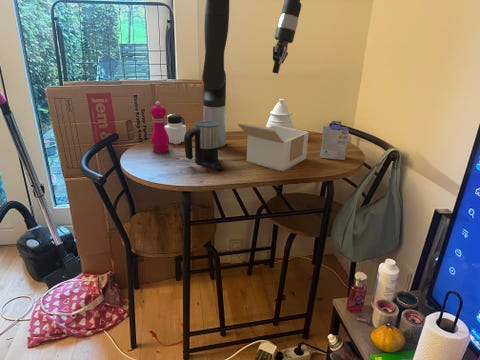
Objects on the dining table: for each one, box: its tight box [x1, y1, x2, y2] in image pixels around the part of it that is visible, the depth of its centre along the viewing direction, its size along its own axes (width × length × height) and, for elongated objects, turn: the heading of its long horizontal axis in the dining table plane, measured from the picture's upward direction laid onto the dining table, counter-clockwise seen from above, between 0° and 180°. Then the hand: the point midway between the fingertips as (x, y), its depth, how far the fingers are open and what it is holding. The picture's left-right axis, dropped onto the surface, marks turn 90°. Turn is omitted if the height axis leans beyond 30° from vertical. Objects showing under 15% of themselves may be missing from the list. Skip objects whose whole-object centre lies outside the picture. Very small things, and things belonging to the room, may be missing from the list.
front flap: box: [236, 122, 284, 143], centre depth 123 cm, size 9×15×1 cm
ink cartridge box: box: [319, 120, 350, 161], centre depth 140 cm, size 10×6×14 cm, turn 78°
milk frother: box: [183, 120, 225, 171], centre depth 128 cm, size 14×16×15 cm
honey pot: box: [265, 98, 294, 129], centre depth 165 cm, size 13×13×18 cm
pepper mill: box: [150, 101, 169, 153], centre depth 142 cm, size 7×7×20 cm
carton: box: [246, 125, 310, 173], centre depth 135 cm, size 18×17×11 cm
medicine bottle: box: [164, 113, 187, 145], centre depth 155 cm, size 7×7×12 cm
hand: (275, 72), depth 144 cm, fingers closed
